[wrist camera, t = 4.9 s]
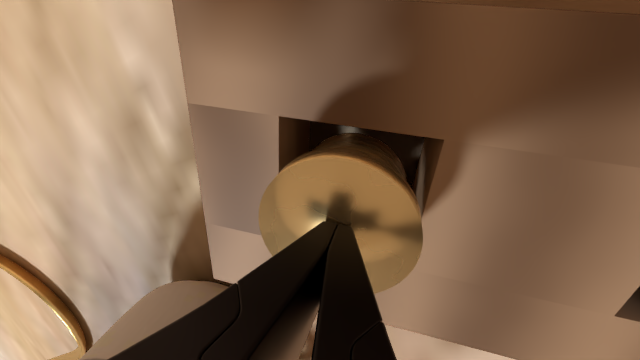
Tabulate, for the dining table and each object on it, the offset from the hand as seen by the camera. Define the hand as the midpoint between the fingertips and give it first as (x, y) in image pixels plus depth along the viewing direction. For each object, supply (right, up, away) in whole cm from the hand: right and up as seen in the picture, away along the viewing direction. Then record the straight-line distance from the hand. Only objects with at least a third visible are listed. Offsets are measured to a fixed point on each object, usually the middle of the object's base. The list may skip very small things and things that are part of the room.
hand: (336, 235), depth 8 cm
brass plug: (+1, +1, +3) cm, 3 cm away
